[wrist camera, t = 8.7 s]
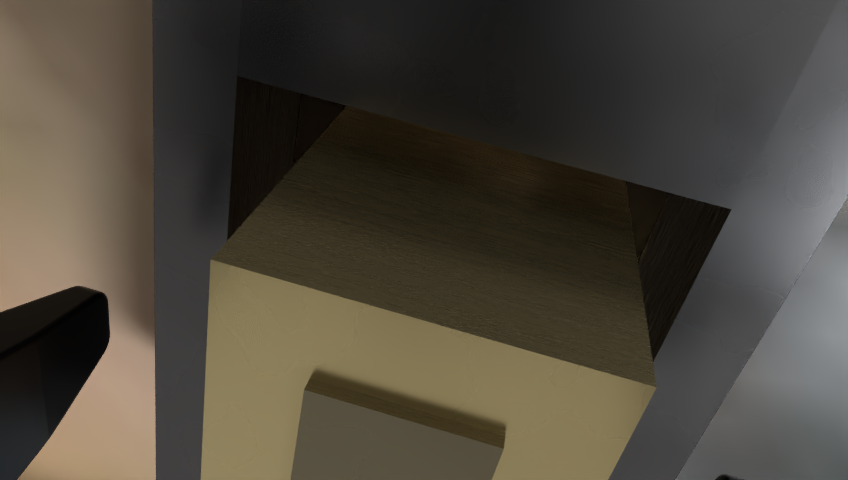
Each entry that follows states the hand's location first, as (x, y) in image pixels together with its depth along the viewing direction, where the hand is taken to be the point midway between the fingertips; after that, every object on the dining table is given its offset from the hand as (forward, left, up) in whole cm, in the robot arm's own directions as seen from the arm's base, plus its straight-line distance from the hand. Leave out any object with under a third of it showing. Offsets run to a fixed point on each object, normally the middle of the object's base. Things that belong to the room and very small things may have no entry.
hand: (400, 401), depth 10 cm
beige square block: (0, 0, -5) cm, 5 cm away
